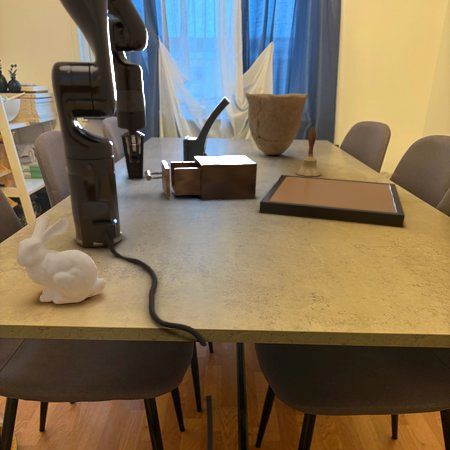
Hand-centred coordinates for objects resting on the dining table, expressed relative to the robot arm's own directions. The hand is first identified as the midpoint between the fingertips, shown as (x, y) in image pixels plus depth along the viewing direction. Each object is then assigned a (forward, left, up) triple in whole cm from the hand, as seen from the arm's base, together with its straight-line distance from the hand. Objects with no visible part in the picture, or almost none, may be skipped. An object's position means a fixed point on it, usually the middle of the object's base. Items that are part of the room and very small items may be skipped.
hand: (135, 175), depth 121 cm
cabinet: (0, -26, -6) cm, 26 cm away
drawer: (0, -13, -5) cm, 13 cm away
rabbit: (-60, +14, -6) cm, 62 cm away
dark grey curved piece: (+45, -29, -6) cm, 54 cm away
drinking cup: (+25, -1, -6) cm, 26 cm away
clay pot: (+65, -63, -6) cm, 90 cm away
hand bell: (+24, -63, -6) cm, 67 cm away
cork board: (-13, -55, -6) cm, 56 cm away
